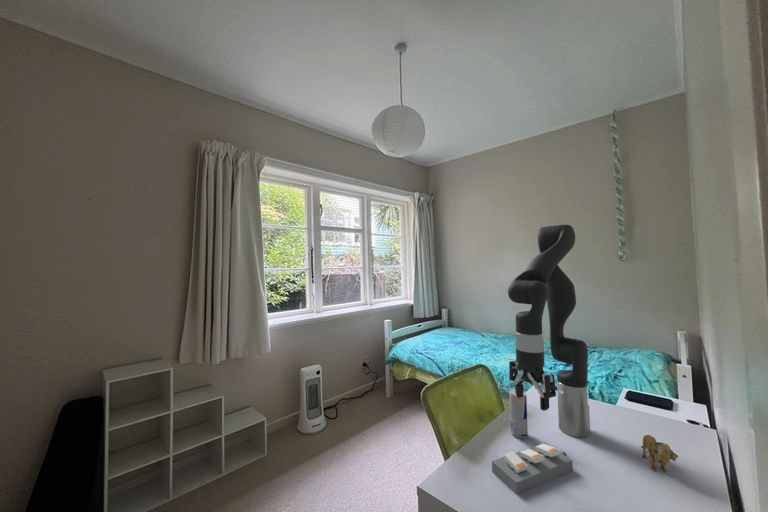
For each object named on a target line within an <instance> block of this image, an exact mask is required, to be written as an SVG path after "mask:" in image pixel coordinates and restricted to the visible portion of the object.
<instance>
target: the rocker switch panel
mask: <svg viewBox="0 0 768 512" xmlns="http://www.w3.org/2000/svg"><path fill="white" fill-rule="evenodd" d="M541 444H547V445H549V444H548V443H546V442H542V443H540V444H537V445H534V446H532V447H529V448H525V449H522V450H519V451H517V452H515V453H516V454H517V455H518V456H519V457H520V458H521V459H522V460H523V461H524V463H525V464H526V465H527V466H528V467H527V470H525V471H522V472H519V473H517V472H516V471H515V470H514V469H513V468H511V467H510V464H509V463H508V462H507V461H506V460H505V459H504V458H503V457H504V456H503V457H499V458H497V459H493V460H492V461H491V472H492V473H493V474H494V475H495V476H496V477H498V478H499V479H500V481H502V482H503V483H504V484H505V485H506V486H508V487H509V489H510V490H512V491H513V492H514V493H515V494H516V495H517V494H519V493H522V492H524V491H527V490H530V489H532V488H534V487H536V486H539V485H541V484H544V483H546V482H548V481H551V480H554V479H555V478H558V477H560V476H563V475H564V474H565V475H566V474H568V473H569V472H572V471H573V470H574V468H573V459H572V458H570V457H569V456H568V455H567V453H566V452H565V451H563V452H560V454H559V455H556V456H553V457H550V456H544V455H543V453H541V452H538V451H536V446H538V445H541ZM526 449H531V450H533V451H535V452H537V453H540V454H542V455H543V456H544V460H543V461H540V462H537V463H534V462H532V461H531V462H528V460H527V459H525V458H523V457H521V455H520V452H521V451H524V450H526Z"/></svg>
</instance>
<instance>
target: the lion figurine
mask: <svg viewBox="0 0 768 512" xmlns="http://www.w3.org/2000/svg"><path fill="white" fill-rule="evenodd" d="M640 447H641V449H642V454H641V457H642V458H645V459H647V452H648V453H649V459H650V466H651V467H650V470H652V471H653V472H657V467H656V466H657V465H656V462H657V463H658V464H659V468H660V470H661V471H662V472H663V473H667V472H668V470H667V469H666V468H665V466H666V465H667V464H668V463H671V460H672V461H673V462H676V460H678V458H679V455H678V454H676V453H675V452H674V451H673V450H672V449H671V447H670V445H669V444H668V443H665V442H658V441H657V440H656V438H655V437H654V436H652V435H650V434H645V435H644V436H643V438H642V445H641V446H640Z"/></svg>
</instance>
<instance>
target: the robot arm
mask: <svg viewBox="0 0 768 512" xmlns="http://www.w3.org/2000/svg"><path fill="white" fill-rule="evenodd" d="M575 243H576V232H575V229H574V228H573V226H572V225H570V224H556V225H549V226H543V227H540V228H539V229H538V231H537V245H538V249H539V254H538V255H536V256H535V257H533V259H532V260H531V261H530V262H529V265H527V268H526V269H525V271H522V272H521V273H520V274H519V275H518V276H516V277H515V278H514V279H513V280H511V282H510V284H509V286H508V288H507V296H508V298H509V299H510V301H511V302H513V303H515V304H521V305H522V304H523V305H524V304H525V305H531V307H530V310H528V311H527V310H526V311H519V312H517V313H516V314H515V337H514V338H515V341H514V342H515V360H511V361H509V363H508V364H509V367H508V368H509V372H508V373H509V377H508V379H509V380H510V381H511V382H513V384H514V386H515V387H514V389H515V390H516V396H517V397H518V398H521V397H523V396H524V393H523V391H524V384H523V383H524V382H525V383H529V384H530V385H533V387H534V389H535V390H537V392H538V394H539V403H540V404H539V406H540V407H539V408H540V410H542V411H543V412H545V411H548V410H549V409H550V399H551V398H554V397H557V411H558V412H557V413H558V414H557V415H558V428H559V430H560V431H561V432H562V433H564V434H567V435H568V436H570V437H575V438H587V437H588V436H590V433H591V421H590V420H591V417H590V405H589V400H588V399H589V398H588V374H589V373H588V372H589V371H588V368H589V367H588V362H589V353H588V352H589V351H588V346H587V344H586V342H585V341H584V340H582V339H578V338H577V339H575V338H572V337H571V338H570V337H565V333H564V327H565V325H566V322H567V320H568V319H569V318H570V316H571V314H572V313H573V312H574V310H575V308H576V307H577V298H576V297H577V295H576V290H575V285H574V283H573V282H572V280H571V279H570V278H569V277H568V275H567V274H566V273H565V272H564V271H563V270H562V269H561V267H560V266H559V264H560V262H562V260H563V259H564V258H565V257H566V256H567V255H568V253H569V252H571V250H572V249H573V247H574V246H575ZM546 304H547V310H548V318H549V343H550V352H551V357H552V359H553V360H555V361H557V362H561V363H564V364H567V365H572V369H569V370H568V369H567V370H560V371H558V372H557V373H556V377H555V375H554V374H553V373H550V374H548V373H546V372H545V371H544V368H545V343H544V342H545V341H544V336H543V316H544V312H545V311H544V310H545V307H546ZM555 378H556V380H555ZM556 386H557V387H556ZM556 388H557V391H556ZM556 392H557V393H556Z"/></svg>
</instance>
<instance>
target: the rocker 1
mask: <svg viewBox="0 0 768 512" xmlns="http://www.w3.org/2000/svg"><path fill="white" fill-rule="evenodd" d="M516 453H517V452H515V451H514V450H512V451H509V452H507V453H504V454H503V458H504V459H505V460H506V461H507V462H508V463H509V464H510V467H511V468H513V469H514V470H515V471H516V472H517V473H519V472H522V471H525V470H527V467H528V466H527V465H526V464H525V463H524V461H523V460H522V459H521V458H520V457H519V456H518V455H517V454H516Z"/></svg>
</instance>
